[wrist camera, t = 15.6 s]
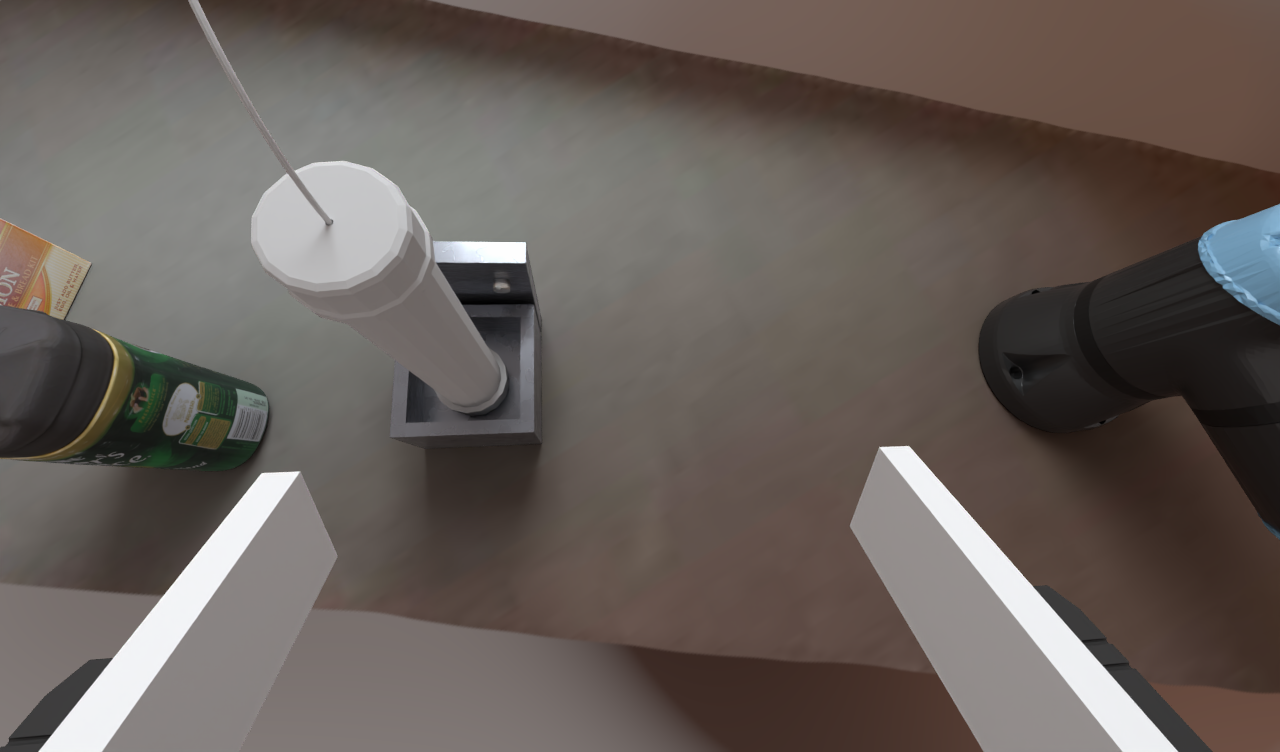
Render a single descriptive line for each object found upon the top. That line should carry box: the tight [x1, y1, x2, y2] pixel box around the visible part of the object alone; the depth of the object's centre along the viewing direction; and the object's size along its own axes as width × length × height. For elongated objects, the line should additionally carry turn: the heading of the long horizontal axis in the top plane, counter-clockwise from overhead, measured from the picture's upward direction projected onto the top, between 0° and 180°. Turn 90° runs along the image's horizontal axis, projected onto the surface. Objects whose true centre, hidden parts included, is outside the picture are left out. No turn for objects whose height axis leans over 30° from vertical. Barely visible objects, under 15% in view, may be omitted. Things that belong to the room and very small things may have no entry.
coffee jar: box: [0, 305, 269, 471], centre depth 32 cm, size 10×8×19 cm
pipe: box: [188, 0, 509, 416], centre depth 26 cm, size 6×6×30 cm
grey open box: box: [390, 241, 542, 449], centre depth 37 cm, size 12×10×14 cm
